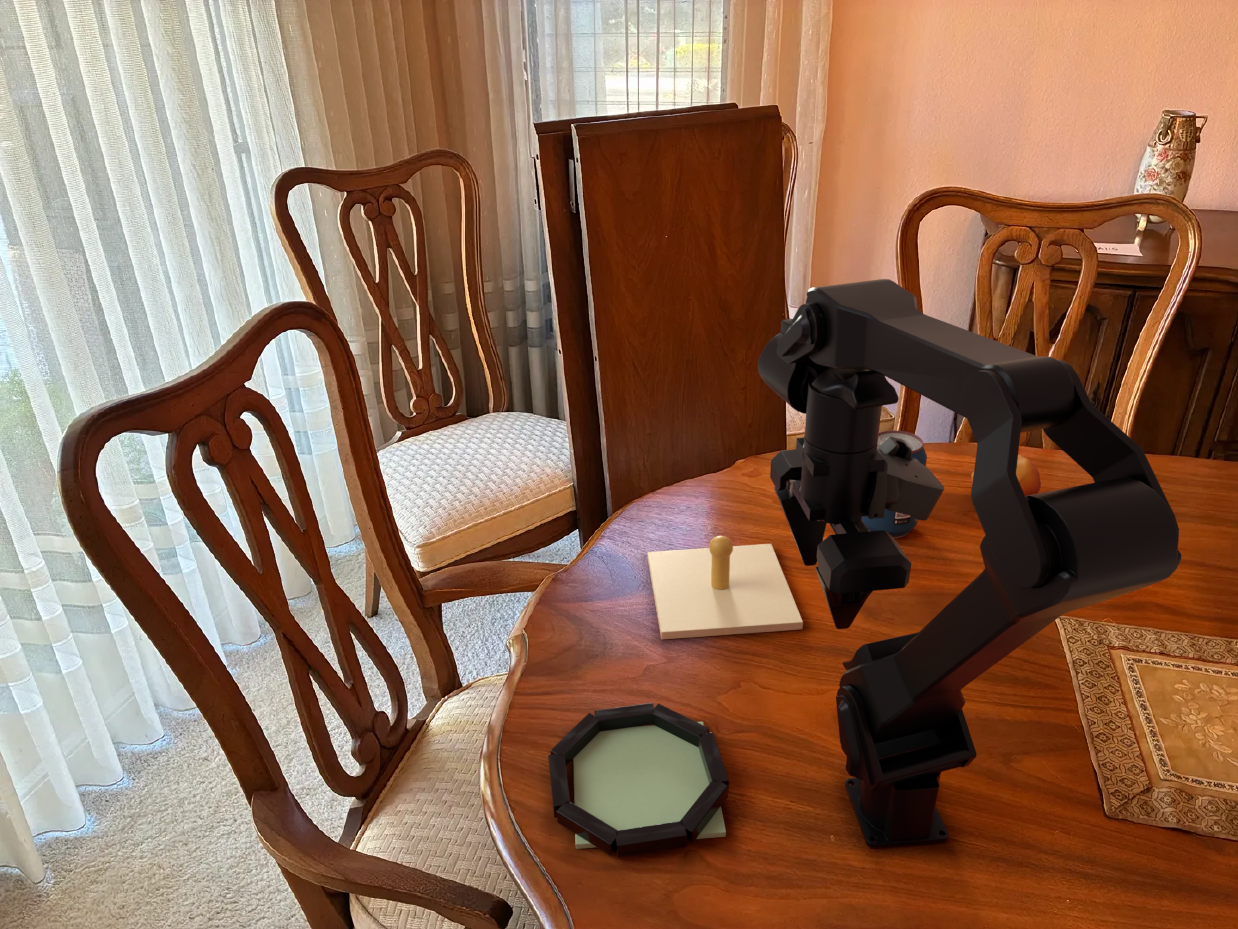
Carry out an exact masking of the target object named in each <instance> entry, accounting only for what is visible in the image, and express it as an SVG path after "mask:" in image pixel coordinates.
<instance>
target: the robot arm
mask: <svg viewBox="0 0 1238 929" xmlns="http://www.w3.org/2000/svg"><path fill="white" fill-rule="evenodd" d="M917 301H918V300H917V297H916V296H915V295H914V294H913V293H911V292H909V291H908V290H907V289H905V288H904V287H903V286H901V285H899V284H898V283H897V282H895V281H893V280H891V279H889V278H880V279H879V278H878V279H872V280H863V281H854V282H848V283H847V282H846V283H839V284H831V285H822V286H813V287H811V288H809V289H808V290H807V292H806V299H805V303H803V304H801V305H800V306H799V307H798V308H797V310H796V312H795V314H794V316H793V318H788V319H782V320H781V322H780V332H779V333H778V334H776V335H774V336H773V337H772V338H771V339H770V340H769V341H768V342H767V343H766V344H765V346H764V347H763V349H762V351H761V353H760V356H759V357H758V359H757V361H758V362H757V369H758V371H757V372H758V374H759V376H760V378H761V380H762V381H763V382H764V384H765V385H766V386H768V388H769V389H770V390H772V391H773V392H774V393H775V394H776V395H777V396H779V398H781V400H783V401H784V402H785V403H787V405H788V406H789V407H791V409H793V410H795V412H798V413H801V414H805V423H804V424H805V425H804V426H805V427H804V436H803V437H796V441H795V449H782V450H780V451H779V452H778V453H777V454H776V455H775V456H774V457H773V458H771V459H770V470H769V471H770V472H769V478H770V479H771V482H772V484H773V486H774V487H773V490H774V492H775V494H776V497H777V499H778V502H779V504H780V507H781V510H782V512H783V515H784V517H785V520H786V522H787V525H788V527H789V530H790V532H791V535H792V537H793V539H794V542H795V545H796V547H797V550H798V553H799V555H800V557H801V561H802V563H803V565H804V566H805V567H812V566H813V567H814V566H815V572H816V575H817V577H818V580H819V583H820V586H821V589H822V591H823V595H824V598H825V601H826V604H827V607H828V609H829V612H830V615H831V618H832V621H833V624H834V626H835V629H836V630H846V629H849V628H850V627H851V626H852V624H853V623H854V621H855V619H856V617H857V616H858V614H859V612H860V611H861V609H862V607H863V606H864V604H865V603H866V601H867V600H868V598H869V597H870V595H871V594H872V593H873V592H875V591H876V592H877V591H888V590H898V589H899V590H900V589H905V588H906V587H907V586H908V584H909V583H910V576H911V571H912V565H913V564H912V561H911V560H910V559H909V557H908V556H907V555H906V552H905V551H904V550H903V549H902V547H901V545H900V544H899V543H898V541H897V540H896V538H893V537H892V536H891V535H890V534H889V533H887V532H886V531H885V530H880V531H869V530H868V529H867V527H866V526H865V524H864V523H863V521H862V516H868V518H869V519H876V518H884V513H885V509H887V510H890V511H894V512H898V513H902V514H906V515H910V516H914V517H915V518H916V519H917V520H918V521H922V522H923V521H924V522H925V521H928V519H929V518H930V515H931V514H932V512H933V510H934V508H935V507H936V505H937V503H938V501H939V500H940V498H941V496H942V494H943V493H944V490H945V486H944V485H943V483H942V482H941V481H940V480H939V479H938V477H936V475H935V474H934V473H933V471H932V470H931V469H930V468H929V467H927V465H926V466H924V465H923V464H921V463H920V462H919V461H918V460H917V459H915V458H913V460H912V450H911V448H910V447H909V446H908V445H907V443H906V442H905V441H904V440H902V439H899V438H895V437H891V436H890V437H889V438H888V439H886V440H885V441H884V442H883V443H882V444H880V445H879V446H878V447H877V443H878V435H879V433H880V425H881V418H882V411H883V406H888V405H895V404H897V403H899V399H900V398H899V395H898V392H897V390H896V388H895V387H894V385H893V384H892V383H890V382H889V381H888V379H889V380H892V381H894V382H895V383H898V384H899V385H901V386H903V387H905V388H907V389H909V390H911V391H913V392H915V393H917V394H918V395H920V396H922V397H925V398H926V399H928V400H931V401H932V402H935V403H936V404H938V405H939V406H941V407H944V408H946V409H948V410H950V411H951V412H953V413H955V414H958V415H959V416H961V417H963V418H965V419H966V420H967V423H968V424H969V428H970V430H971V432H972V435H973V436H974V440H975V441H976V444H977V445H976V453H975V462H974V469H973V472H974V475H973V483H972V482H971V491H970V498H971V503H972V505H973V507H974V510H975V512H976V515H977V518H978V520H979V522H980V525H981V527H982V528H981V529H982V530H983V533H984V537H983V538H982V540H981V542H980V544H979V550H980V553H981V554H980V555H981V558H982V561H983V566H984V568H983V570H982V571H981V572H980V573H979V574H978V575H977V576H976V577H975V578H974V579H973V580H972V581H971V582H970V583H969V584H967V586H965V588H964V589H962V590H961V591H960V592H959V593H958V594H957V595H956V596H955V597H954V598H953V599H952V600H951V601H950V602H949V603H948V604H946V605H945V607H944V608H943V609H941V611H939V612H938V613H937V614H935V616H934V617H933V618H932V619H931V620H930V621H929V622H928V623H927V624H926V625H925V626H924V627H923V628H921V629H920V631H919V632H918V631H917V632H913V633H909V634H903V635H899V636H895V637H890V638H887V639H882V640H878V641H873V642H869V643H864V644H862V645H861V646H860V647H858V649H856V651H855V653H854V655H853V657H852V658H851V660H846V661H843V662H842V666H843V667H844V669H845V670H846V671H843V674H841V677H840V679H839V680H840V681H839V684H838V686H839V688H838V689H837V692H836V696H835V703H836V715H837V724H838V735H839V744H840V749H841V750H842V752H843V754H844V755H845V756H846V762H845V771H846V772H847V774H848V775H849V776H852V777H849V778H847V779H845V780H844V788H845V790H846V793H847V796H848V798H849V801H850V803H851V808H852V809H853V812H854V815H855V817H856V819H857V820H856V821H857V823H858V825H859V828H860V831H861V833H862V836H863V838H864V842H865V844H866V845H867V846H868V847H869V848H872V849H879V848H890V847H902V846H903V847H904V846H915V845H926V844H927V845H928V844H938V843H939V844H940V843H945V842H947V841H948V839H949V834H950V833H949V832H948V830H947V827H946V825H945V824H944V821H943V819H942V817H941V815H940V813H939V810H938V808H937V801H938V795H939V791H940V780H941V776H942V775H941V774H942V772H947V771H950V770H953V769H957V768H965V767H969V766H970V765H971V764H972V763H973V761H974V760H975V759H976V757H977V750H976V747H975V743H974V741H973V739H972V735H971V732H970V729H969V725H968V723H967V720H966V717H965V716H966V715H965V713H964V711H963V710H964V706H965V705H966V700H965V697H964V695H963V692H962V690H963V688H965V687H966V686H968V685H969V684H970V683H971V682H973V681H975V680H976V679H977V678H978V677H980V676H981V675H982V674H984V673H985V672H987V671H988V670H989V669H991V668H992V667H993V666H995V665H996V664H998V663H999V662H1000V661H1002V660H1003V659H1005V658H1006V657H1007V656H1009V655H1010V654H1011V653H1013V652H1014V651H1015V650H1016V649H1018V648H1019V647H1021V646H1022V645H1024V644H1025V643H1026V642H1027V641H1029V640H1030V639H1031V638H1033V637H1034V636H1036V635H1037V634H1038V633H1040V632H1041V631H1043V630H1044V629H1045V628H1046V627H1048V626H1049V625H1050V624H1052V623H1053V622H1055V621H1056V620H1057V619H1059V618H1061V616H1063V615H1066V614H1067V613H1071V612H1073V611H1077V610H1080V609H1083V608H1086V607H1089V606H1093V605H1097V604H1099V603H1102V602H1107V601H1109V600H1112V599H1115V598H1118V597H1121V596H1124V595H1127V594H1128V595H1129V594H1130V593H1133V592H1136V591H1139V590H1141V589H1145V588H1147V587H1150V586H1152V585H1155V584H1158V583H1161V582H1162V581H1165V580H1167V579H1168V578H1170V577H1171V575H1172V574H1173V573H1174V572H1175V571H1176V570H1177V569H1178V567H1179V565H1180V564H1181V560H1182V557H1183V556H1182V553H1181V551H1180V550H1179V543H1180V542H1179V541H1180V540H1179V538H1180V527H1179V524H1178V521H1177V518H1176V515H1175V512H1174V511H1173V508H1172V507H1171V505H1170V503H1169V501H1168V498H1167V496H1166V495H1165V492H1164V490H1163V488H1162V486H1161V484H1160V482H1159V479H1158V477H1157V476H1156V474H1155V472H1154V470H1153V467H1152V466H1151V463H1150V462H1149V460H1148V458H1147V456H1146V454H1145V451H1144V450H1143V449H1142V448H1141V446H1140V445H1139V444H1138V443H1137V442H1136V441H1135V440H1134V439H1133V438H1131V437H1130V436H1129V435H1128V434H1126V432H1124V431H1123V430H1122V429H1121V428H1120V427H1118V425H1116V424H1115V423H1114V421H1112V420H1111V419H1110V418H1109V417H1108V416H1106V415H1105V414H1104V413H1103V412H1102V411H1100V410H1099V409H1098V408H1097V407H1096V406H1095V404H1093V403H1092V401H1091V398H1089V395H1088V393H1087V391H1086V388H1085V387H1084V385H1083V383H1082V380H1081V378H1080V376H1079V375H1078V373H1077V372H1076V370H1075V368H1074V367H1073V366H1072V365H1071V364H1069V363H1068V362H1066V361H1065V360H1063V359H1056V358H1055V357H1053V356H1052V357H1051V356H1048V355H1045V356H1041V355H1040V356H1038V355H1035V354H1032V353H1029V352H1027V351H1024V350H1022V349H1019V348H1017V347H1013V346H1010V345H1008V344H1006V343H1003V342H1000V341H997V340H995V339H992V338H990V337H986V336H984V335H981V334H978V333H976V332H973V331H971V330H967V329H965V328H962V327H960V326H957V325H954V324H952V323H949V322H946V321H943V320H941V319H939V318H935V317H934V316H930V315H927V314H925V313H924V312H922V310H921V311H920V310H919V309H918V302H917ZM887 378H888V379H887ZM1039 430H1042V431H1043V432H1044V434H1045V435H1046V436H1047V437H1048V439H1050V440H1051V441H1052V443H1054V444H1055V445H1056V446H1057V447H1058V448H1059V449H1061V451H1063V452H1064V453H1065V454H1066V455H1067V456H1068V457H1069V458H1071V460H1073V462H1075V463H1076V464H1077V465H1078V466H1079V467H1080V468H1082V469H1083V470H1084V471H1085V472H1086V473H1087V474H1088V475H1089V476H1090V477H1091V478H1092V480H1093V482H1091V483H1084V484H1080V485H1075V486H1070V487H1065V488H1060V489H1054V490H1049V491H1044V492H1038V494H1033V495H1028V496H1025V495H1024V492H1023V490H1022V488H1021V485H1020V483H1019V480H1018V478H1017V476H1016V470H1017V460H1018V455H1019V452H1020V451H1019V450H1020V443H1021V442H1020V441H1021V434H1023V433H1027V432H1028V433H1029V432H1033V431H1039ZM827 525H829V526H830V527H831V528H830V529H832V531H833V533H834V534H829V535H828V536H827V537H826V538H824V537H825V532H826V528H827ZM816 565H817V566H816Z"/></svg>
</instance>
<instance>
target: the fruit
mask: <svg viewBox="0 0 1238 929" xmlns="http://www.w3.org/2000/svg"><path fill="white" fill-rule="evenodd" d="M973 475H974V471H972V472H971V476H970V478H971V484H972V483H973ZM1016 476H1017V478H1018V480H1019V483H1020V485H1021V488H1022V490H1023V492H1024V495H1025V496H1028V495H1033V494H1038V493H1040V490H1041V487H1042V485H1041V484H1042V482H1041V474H1040V471H1039V469H1038V468H1037V467H1036V465H1035V464H1034V463H1033V462H1032V460H1030V459H1029V458H1027V457H1026V456H1024V455H1021V454H1018V460H1017V470H1016Z"/></svg>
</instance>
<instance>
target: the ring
mask: <svg viewBox="0 0 1238 929" xmlns="http://www.w3.org/2000/svg"><path fill="white" fill-rule="evenodd" d="M698 722H699V721H696V720H693V719H691V718H689V717H687V716H685V715H683V714H681V713H679V712H677V711H675V710H673V709H671V708H668V707H667V706H664V705H663V704H660V703H657V704H656V705H654V703H653V702H647V703H640V704H633V705H632V704H631V705H625V706H617V707H609V708H604V709H603V708H601V709H596V710H593V713H591V712H588V713H587V714H586V715H585V716H584V717H583V718H582V719H581V720H580V721H579V722H578V723H577V724H576V725H575V726H573V728H572V729H571V730H570V731H569V732H568V733H566V734H565V735H564V736H563V737H562V738H561V740H559V741H558V742H557V743H556V744H555V745H554V746H553V747H552V748H551V749H550V750H549V752H550V754H548V756H547V757H548V758H547V759H548V769H549V776H550V778H549V779H550V788H551V798H552V799H551V800H552V806H553V807H552V810H553V817H554V819H556V820H557V823H558V824H559V825H561V826H562V827H564V828H565V829H567V830H569V831H570V832H571V833H573V834H574V835H575V834H577V835H578V836H580V837H581V838H583V839H585V840H586V841H588V842H589V843H591V844H593V845H594V846H596V847H595V848H597V849H599V850H601V851H602V852H603V853H605V854H607V855H609V856H610V857H612V856H613V855H614V854H615V852H616V855H617V856H616V857H617V858H626V857H631V856H638V855H639V856H640V855H645V854H651V853H657V852H664V851H670V850H675V849H682V848H687V847H688V843H691V844H694V842H695V841H696V840H697V839H696V838H697V837H698V836H699V834H700V833H701V832H702V830H703V829H704V828H705V826H706V825H707V824H708V823H709V821H710V820H711V819H712V817H713V816H714V815H715V813H716V812H717V811H718V809H719V808H720V807H721V808H722V806H723V805H724V803H725V802H726V800H727V799H728V797H729V791H730V790H729V789H730V778H729V776H728V773H727V770H726V767H725V764H724V761H723V758H722V755H721V752H720V749H719V745H718V743H717V740H716V737H715V733H714V732H713V731H710V727H708V726H705V724H704V725H702V724H700V723H698ZM652 725H655V726H657V727H659V728H661V729H663V730H665V731H667V732H669V733H671V734H673V735H675V736H677V737H678V738H680V739H682V740H684V741H686V742H688V743H690V744H692V745H694V746H696V747H698V748H699V751H700V755H701V758H702V761H703V765H704V768H705V771H706V774H707V778H708V781H709V785H708V786H707V787H706V789H705V790H704V791H703V792H702V794H701V795H700V796H699V798H698V799H697V800H696V801H695V803H694V804H693V805H692V806H691V808H690V809H689V810H688V811H687V813H686V814H685V815H684V817H683V818H682V819H681V820H680V821H677V822H671V823H664V824H657V825H651V826H644V827H638V828H631V829H624V830H616V829H615V828H613V827H611V826H610V825H608V824H607V823H605V822H603V821H602V820H600V819H598V818H597V817H595V816H593V815H592V814H590V813H588V812H587V811H585V810H583V809H582V808H580V807H578V806H577V805H575V804H574V802H572V801H571V797H570V789H569V781H568V773H567V766H568V764H570V763H571V762H572V761H573V758H574V757H575V756H576V755H577V754H578V753H579V752H580V751H581V750H582V749H583V748H584V747H585V746H586V745H587V744H588V743H589V742H590V741H591V740H592V739H593V738H594V737H595V736H596V735H597V734H598V733H599V732H601V731H608V730H616V729H623V728H630V727H639V726H652Z"/></svg>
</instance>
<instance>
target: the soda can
mask: <svg viewBox="0 0 1238 929" xmlns="http://www.w3.org/2000/svg"><path fill="white" fill-rule="evenodd" d="M890 436H891V437H895V438H899V439H902V440H904V441H905V442H906V443H907V445H908V446H909V447H910V448H911V450H912V460H913V458H915V459H917V460H918V461H919V462H920V463H921V464H923V465H924V466H926V467H927V459H928V455H927V452H926V450H925V448H924V446H925V445H924V444H925V443H924V441H923V439H922V438H921V437H920V436H918V435H917V434H914V433H912V432H909V431H904V430H896V429H895V430H894V429H893V430H891V429H890V430H884V431H879V435H878V443H877V447H878V446H879V445H880V444H882V443H883V442H884V441H885V440H886V439H888V438H889V437H890ZM862 521H863V523H864V524H865V526H866V527H867V529H868V530H869V531H880V530H885V531H886V532H887V533H889V534H890V535H891V536H892V537H893V538H894V539H900V538H903V537H905V536H907V535H908V534H910V532H911V531H913V530H914V528H916V526H917V524H918V521H919V520H917V519H916V518H915V517H914V516H910V515H906V514H902V513H898V512H894V511H890V510H887V509H885V513H884V518H876V519H869V518H868V516H862Z"/></svg>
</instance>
